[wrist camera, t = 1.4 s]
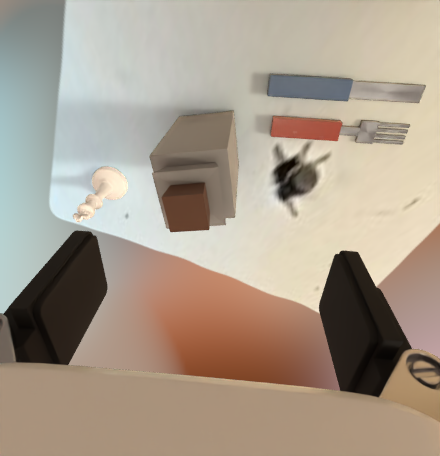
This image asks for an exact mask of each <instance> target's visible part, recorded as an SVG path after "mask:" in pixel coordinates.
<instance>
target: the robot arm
mask: <svg viewBox="0 0 440 456" xmlns="http://www.w3.org/2000/svg"><path fill="white" fill-rule="evenodd" d="M106 293H107V282H106V277H105V273H104V268H103V263H102V259H101V254H100V250H99V245H98V240H97V237H96V236H93V234H92V233H91V232H89V231H74V232H73V233H72V234H71V235H70V237H69V238H68V239H67V240H66V241H65V242H64V244H63V245H62V246H61V247H60V248H59V250H58V251H57V252H56V253H55V254H54V255H53V256H52V257H51V259H50V260H49V261H48V262H47V263H46V264H45V266H44V267H43V268H42V269H41V270H40V271H39V273H38V274H37V275H36V276H35V277H34V278H33V279H32V281H31V282H30V283H29V284H28V285H27V286H26V287H25V289H24V290H23V291H22V292H21V293H20V295H19V296H18V297H17V298H16V299H15V300H14V301H13V303H12V304H11V305H10V306H9V308H8V309H7V310H6V311H5V313H4V314H1V313H0V456H440V359H439V358H438V357H436V356H435V355H433V354H430V353H429V352H426V351H423V350H419V349H412V348H411V346H410V344H409V342H408V340H407V338H406V336H405V335H404V333H403V331H402V329H401V327H400V325H399V323H398V321H397V319H396V318H395V316H394V314H393V312H392V310H391V308H390V306H389V304H388V303H387V301H386V299H385V297H384V295H383V293H382V291H381V290H380V289H379V288H376V286H375V284H374V282H373V280H372V278H371V277H370V275H369V273H368V271H367V269H366V267H365V265H364V263H363V261H362V259H361V257H360V255H359V253H358V252H353V251H341V252H340V253H339V254H335V256H334V259H333V262H332V265H331V268H330V272H329V275H328V278H327V281H326V284H325V287H324V291H323V294H322V297H321V300H320V304H319V311H320V315H321V319H322V323H323V327H324V330H325V334H326V338H327V342H328V345H329V349H330V353H331V357H332V361H333V365H334V368H335V372H336V376H337V380H338V383H339V387H340V391H337V390H328V389H320V388H311V387H302V386H292V385H282V384H271V383H262V382H251V381H241V380H231V379H220V378H210V377H199V376H188V375H177V374H165V373H155V372H144V371H133V370H132V371H131V370H121V369H110V368H109V369H108V368H96V367H87V366H73V365H68V364H69V362H70V360H71V359H72V357H73V355H74V353H75V351H76V349H77V347H78V346H79V344H80V342H81V340H82V338H83V336H84V334H85V332H86V331H87V329H88V327H89V325H90V323H91V321H92V319H93V317H94V315H95V314H96V312H97V310H98V308H99V306H100V304H101V302H102V301H103V299H104V297H105V295H106Z"/></svg>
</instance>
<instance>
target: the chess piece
mask: <svg viewBox="0 0 440 456" xmlns="http://www.w3.org/2000/svg"><path fill="white" fill-rule="evenodd" d="M92 184H93V187H94V189H95V191H96V193H95V194H89V195H88V196H87V197H86V203H82V204H80V205H79V206H78V209H77V210H78V213H79V214H74V215H73V218H74V219H76V222H81V221H82V219H86V220H88V219H89V218H92V217H93V216H94V214H95V209H99V208H101V207H102V205H103V202H102V199H103V198H106V199H109V200H116V199H119V198H121V197H122V196H124V195H125V193H126V192H127V189H128V184H127V180H126V178H125V177H124V175H123V174H122V173H121V172H120V171H118V170H117V169H115V168H112V167H101V168H99V169H98V170H96V172H95V173H94V175H93V177H92Z"/></svg>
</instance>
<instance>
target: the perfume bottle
mask: <svg viewBox="0 0 440 456" xmlns="http://www.w3.org/2000/svg"><path fill="white" fill-rule="evenodd" d="M150 160H151V164H152V168H153V173H152V175H153V179H154V183H155V187H156V190H157V194H158V198H159V202H160V205H161V209H162V213H163V217H164V221H165V224H166V228H167V229H168V228H169V229H170V232H181V231H198V230H209V226H217V225H226V223H225V218H235V212H236V197H237V182H238V167H239V161H238V151H237V140H236V129H235V118H234V111H226V112H217V113H208V114H199V115H189V116H180V117H178V119H177V120H176V121H175V123H174V124H173V125H172V127H171V128H170V129H169V131H168V132H167V133H166V135H165V136H164V137H163V139H162V140H161V141H160V143H159V144H158V145H157V147H156V148H155V149H154V150H153V152H152V153H151V154H150Z"/></svg>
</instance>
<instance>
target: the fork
mask: <svg viewBox="0 0 440 456" xmlns="http://www.w3.org/2000/svg"><path fill="white" fill-rule="evenodd" d="M378 126H388V127H403V128H409V127H410V124H398V123H383V122H379V121H369V120H361V124H360V127H354V126H342V122H341V121H340V120H327V119H312V118H297V117H282V116H273V120H272V127H271V137H286V138H300V139H315V140H329V141H338V137H339V135H350V136H357V137H356V140H355V142H356V143H370V144H372V143H387V144H401V145H403V141H395V140H380V139H374V137H379V138H393V139H405V137H406V136H402V135H387V134H376V131H378V132H393V133H407V132H408V130H402V129H387V128H378Z"/></svg>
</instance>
